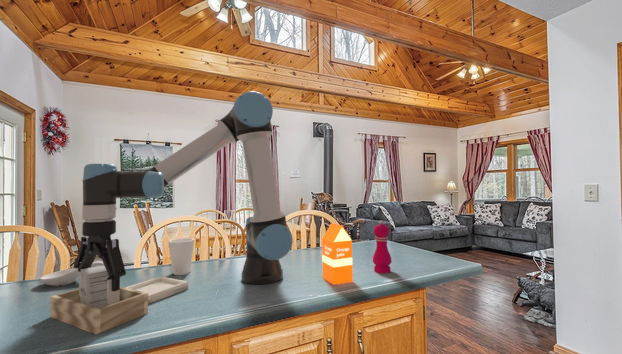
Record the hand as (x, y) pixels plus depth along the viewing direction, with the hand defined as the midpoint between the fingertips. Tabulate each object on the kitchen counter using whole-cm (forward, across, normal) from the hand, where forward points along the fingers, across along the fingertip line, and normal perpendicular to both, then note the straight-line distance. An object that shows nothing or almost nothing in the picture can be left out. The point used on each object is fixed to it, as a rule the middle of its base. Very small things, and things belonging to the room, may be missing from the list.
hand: (98, 298), depth 82 cm
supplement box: (+5, 0, 0) cm, 5 cm away
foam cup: (+4, +13, -37) cm, 40 cm away
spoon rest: (+5, +38, -14) cm, 41 cm away
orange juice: (+4, -47, -55) cm, 73 cm away
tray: (+4, +2, -18) cm, 19 cm away
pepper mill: (+4, -59, -72) cm, 93 cm away
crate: (+4, 0, 0) cm, 4 cm away
